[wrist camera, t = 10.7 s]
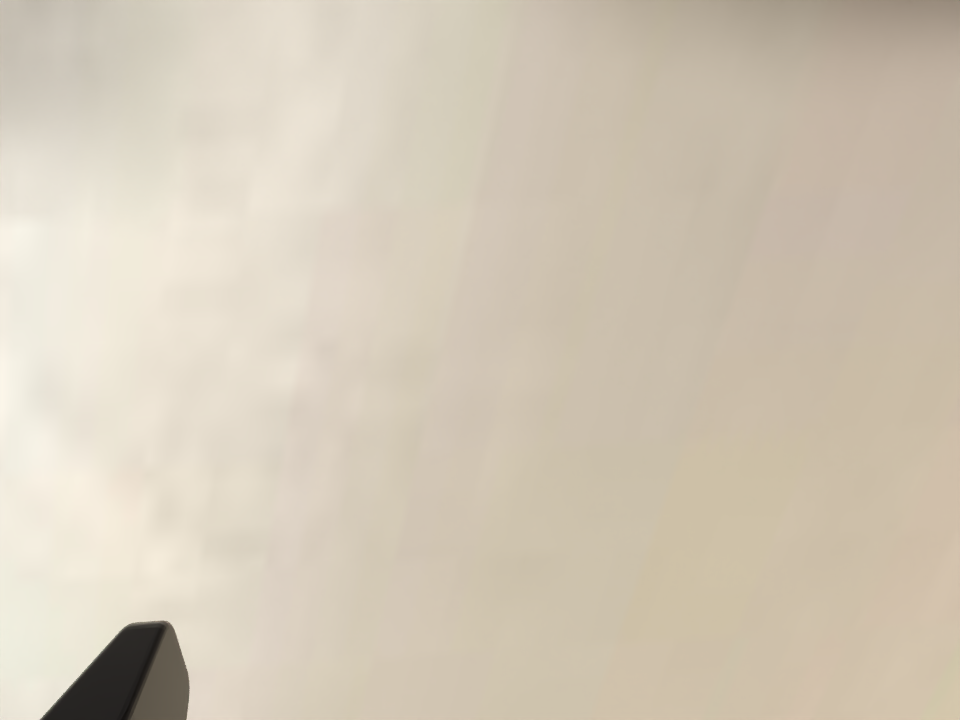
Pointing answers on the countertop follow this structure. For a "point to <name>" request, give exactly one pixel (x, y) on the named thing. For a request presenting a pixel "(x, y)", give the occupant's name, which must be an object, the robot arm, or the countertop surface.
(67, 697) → the robot arm
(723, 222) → the countertop surface
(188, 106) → the countertop surface
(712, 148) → the countertop surface
